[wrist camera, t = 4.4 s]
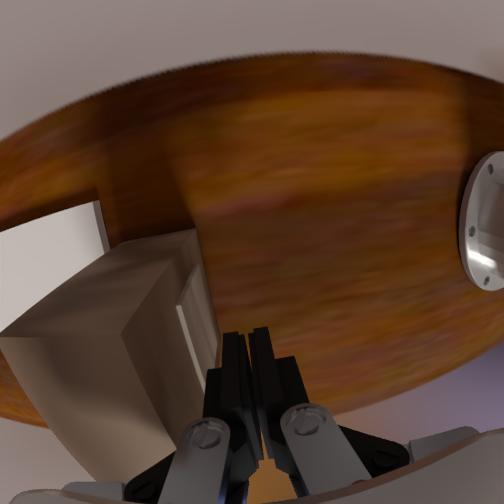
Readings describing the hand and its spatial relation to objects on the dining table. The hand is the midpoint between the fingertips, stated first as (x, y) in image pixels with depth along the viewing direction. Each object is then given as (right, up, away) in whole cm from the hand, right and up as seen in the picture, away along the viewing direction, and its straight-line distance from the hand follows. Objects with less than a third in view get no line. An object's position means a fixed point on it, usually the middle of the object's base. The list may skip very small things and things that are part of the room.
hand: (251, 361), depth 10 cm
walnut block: (-5, +1, +8) cm, 10 cm away
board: (-16, 0, +8) cm, 18 cm away
